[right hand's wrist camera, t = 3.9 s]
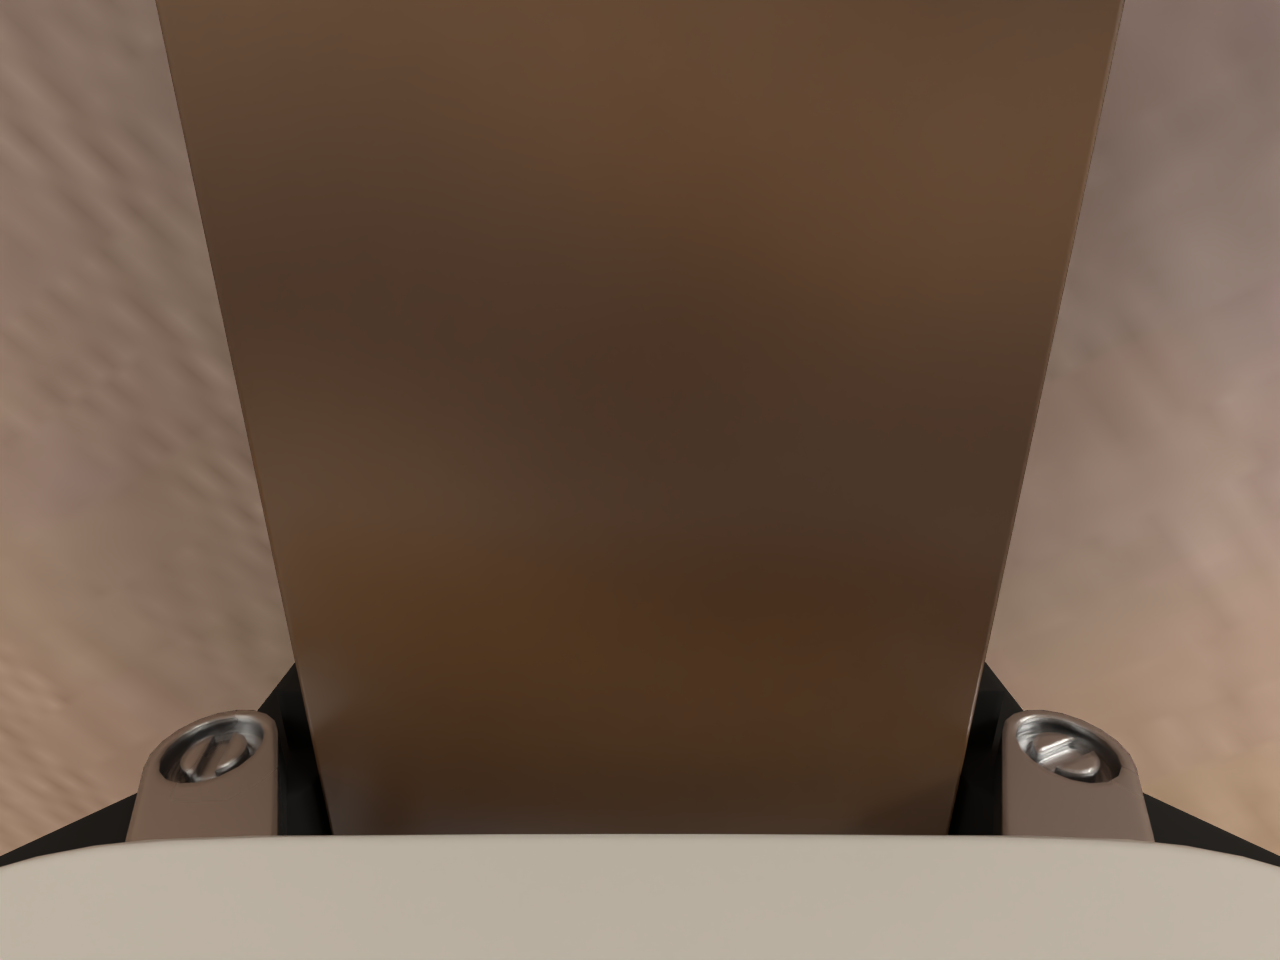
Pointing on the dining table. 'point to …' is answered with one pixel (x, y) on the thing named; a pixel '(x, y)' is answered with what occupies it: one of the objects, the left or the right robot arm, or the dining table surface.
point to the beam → (640, 386)
